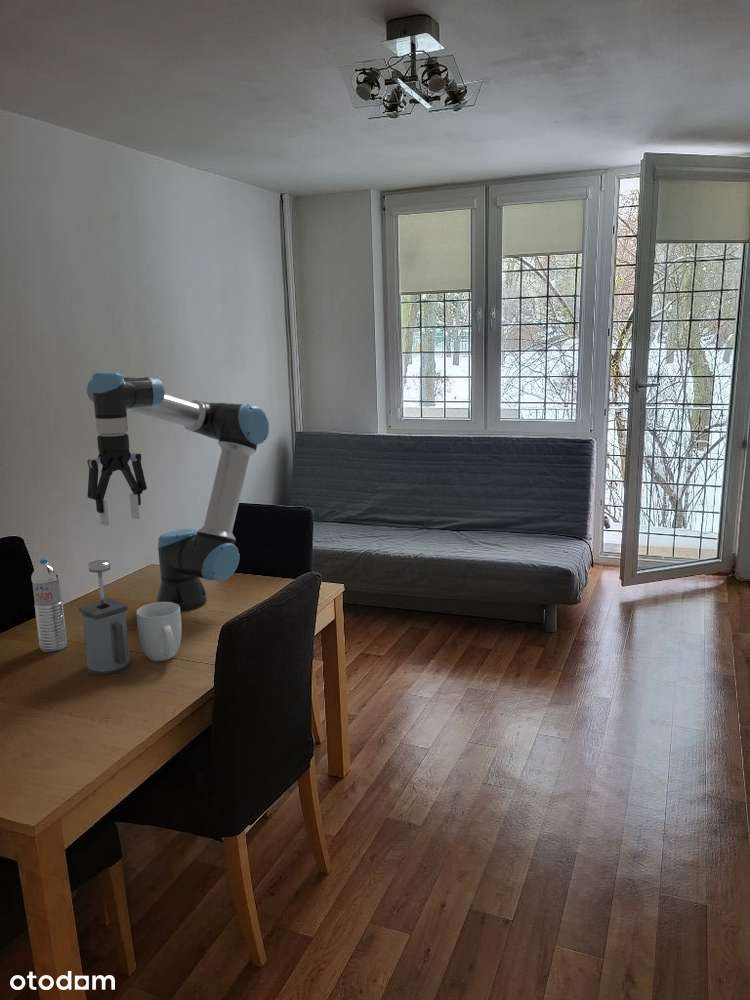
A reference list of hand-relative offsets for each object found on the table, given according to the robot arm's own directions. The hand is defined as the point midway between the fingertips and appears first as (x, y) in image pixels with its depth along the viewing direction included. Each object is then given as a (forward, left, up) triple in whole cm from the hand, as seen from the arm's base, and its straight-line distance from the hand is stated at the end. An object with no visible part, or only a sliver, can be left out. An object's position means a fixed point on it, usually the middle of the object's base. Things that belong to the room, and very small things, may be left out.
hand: (120, 521), depth 190 cm
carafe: (+10, +7, -35) cm, 37 cm away
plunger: (+10, +6, -24) cm, 26 cm away
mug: (-2, +12, -35) cm, 37 cm away
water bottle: (+14, -16, -35) cm, 41 cm away
